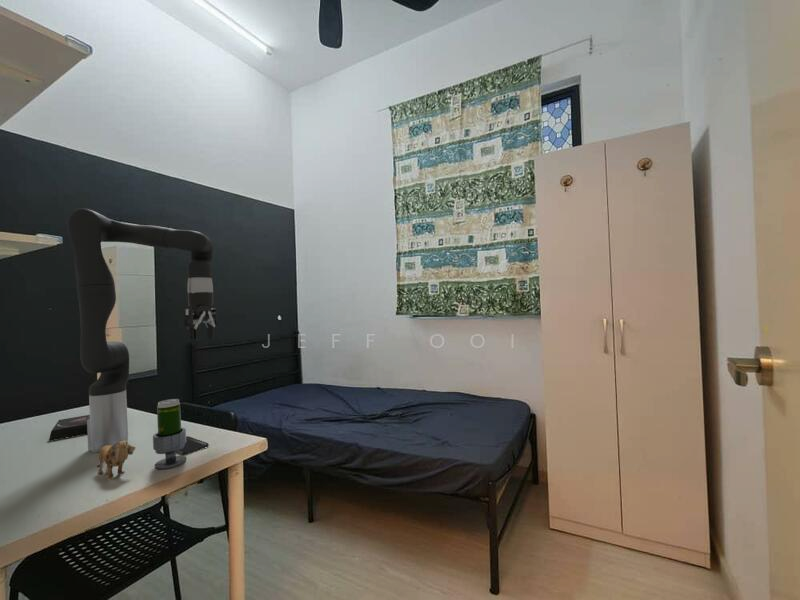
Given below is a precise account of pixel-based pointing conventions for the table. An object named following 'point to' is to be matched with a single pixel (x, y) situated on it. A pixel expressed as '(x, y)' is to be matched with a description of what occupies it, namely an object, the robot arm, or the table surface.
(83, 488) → the table surface
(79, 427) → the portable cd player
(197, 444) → the phone
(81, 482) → the table surface
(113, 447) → the lion figurine
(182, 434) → the cup bracket
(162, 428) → the green drink can
